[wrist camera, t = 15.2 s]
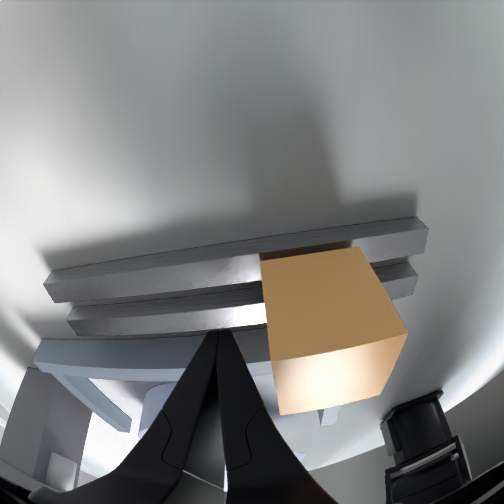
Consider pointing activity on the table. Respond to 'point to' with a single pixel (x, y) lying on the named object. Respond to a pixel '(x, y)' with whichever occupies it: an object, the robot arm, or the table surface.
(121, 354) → the press bed
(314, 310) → the tan wooden cube
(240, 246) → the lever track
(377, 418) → the table surface
